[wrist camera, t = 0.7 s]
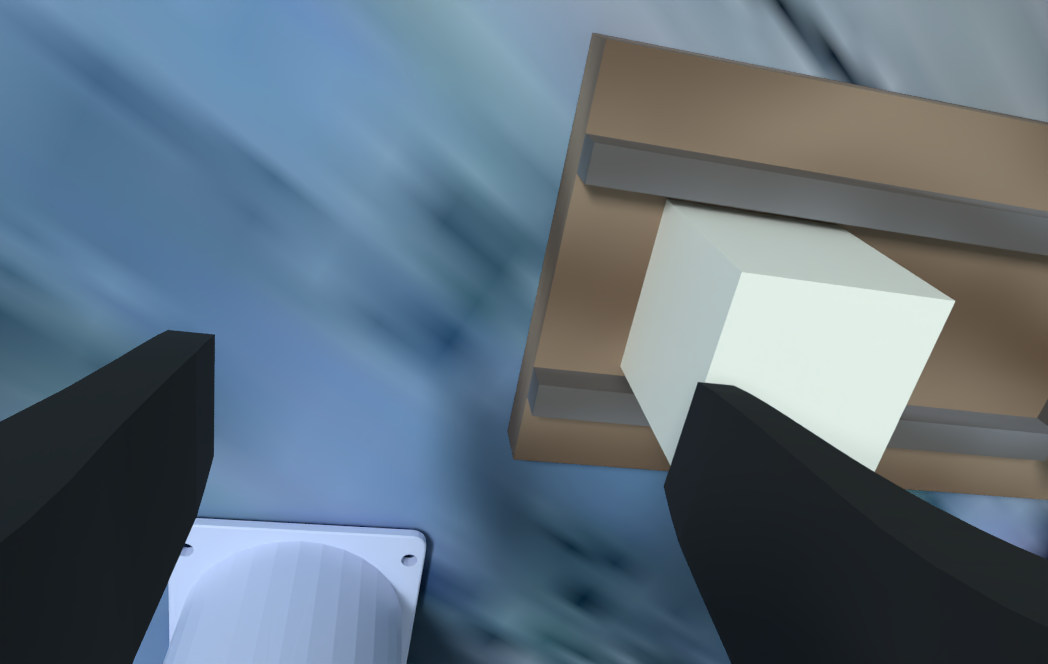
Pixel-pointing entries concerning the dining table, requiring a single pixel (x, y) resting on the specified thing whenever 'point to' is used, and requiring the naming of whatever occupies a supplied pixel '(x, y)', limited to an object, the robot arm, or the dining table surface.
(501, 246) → the dining table surface
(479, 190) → the dining table surface
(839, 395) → the pale grey cube
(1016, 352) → the rail board
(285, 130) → the dining table surface
